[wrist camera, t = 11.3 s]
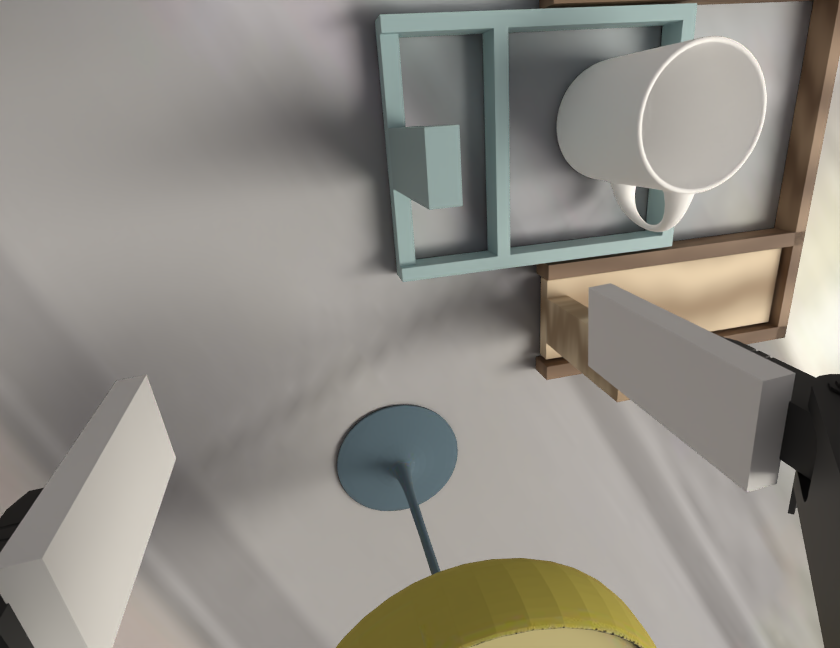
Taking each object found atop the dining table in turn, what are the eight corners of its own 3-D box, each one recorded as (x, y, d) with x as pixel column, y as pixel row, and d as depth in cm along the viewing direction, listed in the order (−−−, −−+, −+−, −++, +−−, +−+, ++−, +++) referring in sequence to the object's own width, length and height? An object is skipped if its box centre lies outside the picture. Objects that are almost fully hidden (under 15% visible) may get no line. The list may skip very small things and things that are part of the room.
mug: (561, 232, 43) (642, 262, 33) (546, 72, 38) (634, 51, 28) (655, 207, 44) (760, 229, 34) (652, 49, 39) (772, 22, 30)
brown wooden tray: (539, -10, 36) (554, -18, 34) (827, -18, 41) (855, -26, 39) (535, 369, 47) (546, 379, 45) (765, 329, 51) (784, 337, 49)
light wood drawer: (540, 276, 43) (622, 324, 33) (770, 245, 48) (909, 278, 37) (540, 354, 46) (615, 421, 35) (758, 317, 50) (884, 368, 39)
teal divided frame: (374, 21, 34) (414, -30, 23) (676, 9, 39) (829, -39, 28) (397, 274, 41) (436, 327, 30) (654, 241, 45) (773, 276, 34)
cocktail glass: (323, 345, 41) (364, 610, 19) (522, 386, 47) (742, 628, 24) (272, 532, 46) (254, 925, 23) (458, 548, 52) (591, 880, 29)
